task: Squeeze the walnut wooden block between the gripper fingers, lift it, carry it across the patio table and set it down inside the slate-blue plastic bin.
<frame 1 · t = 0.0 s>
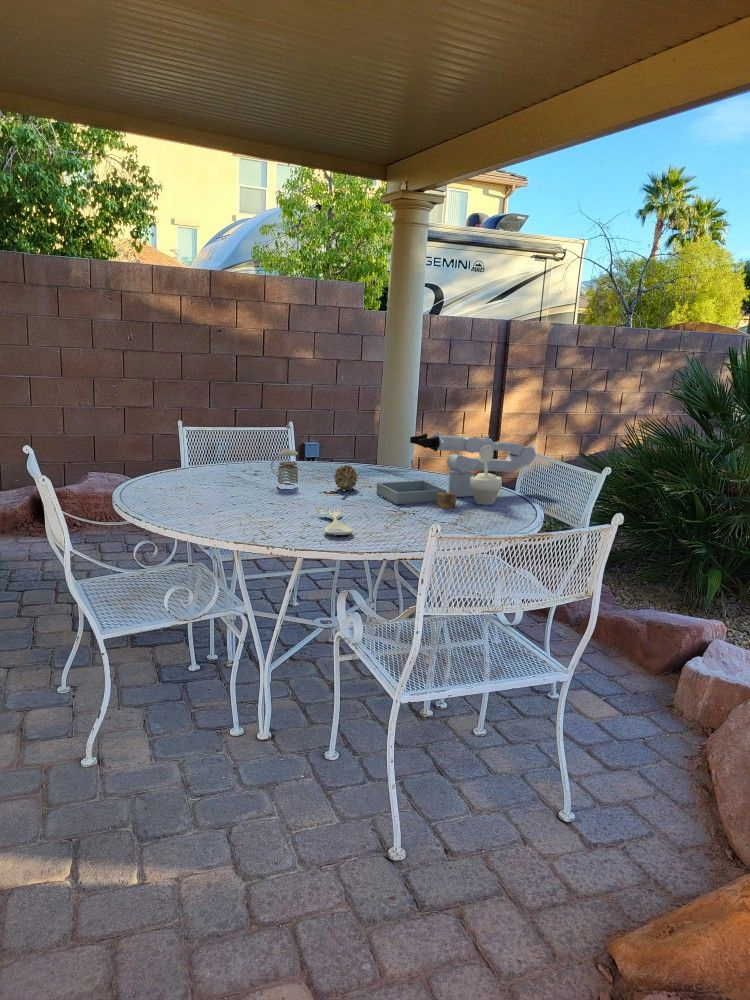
hand: (414, 441, 273), 22 cm above the table, tool horizontal, fingers open, 7 cm apart
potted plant: (484, 503, 271), on the table
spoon: (334, 527, 233), on the table
slate bin: (410, 498, 277), on the table
french press: (286, 487, 293), on the table
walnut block: (446, 507, 263), on the table
pine cone: (345, 492, 286), on the table
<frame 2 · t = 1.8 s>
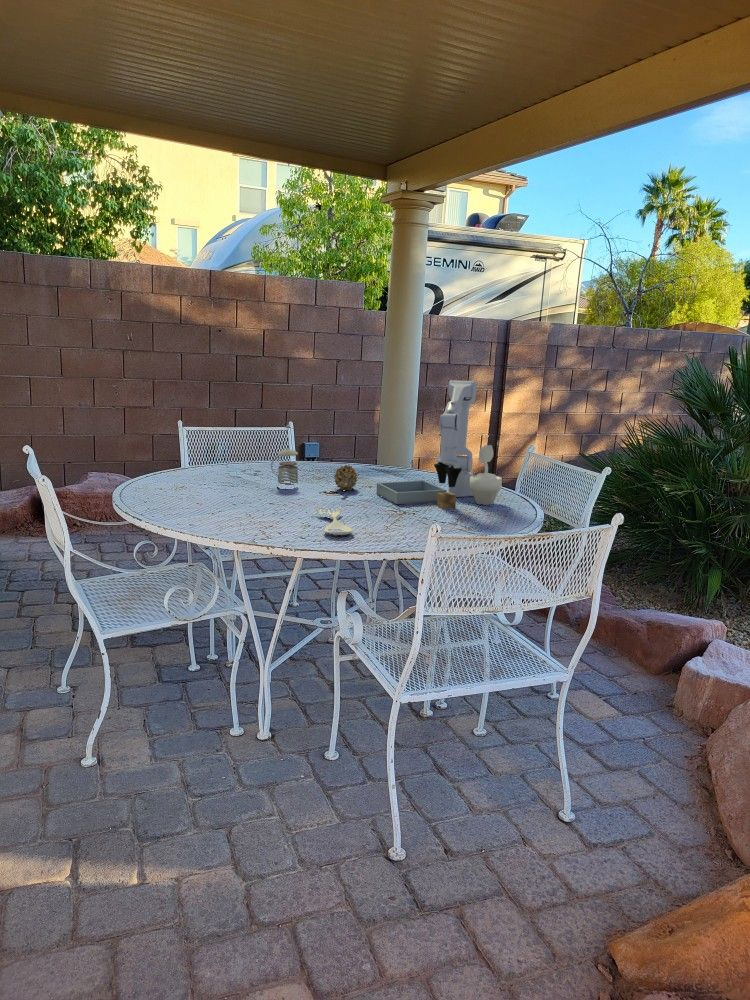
hand: (446, 485, 261), 8 cm above the table, tool pointing down, fingers open, 7 cm apart
nothing on the table moved.
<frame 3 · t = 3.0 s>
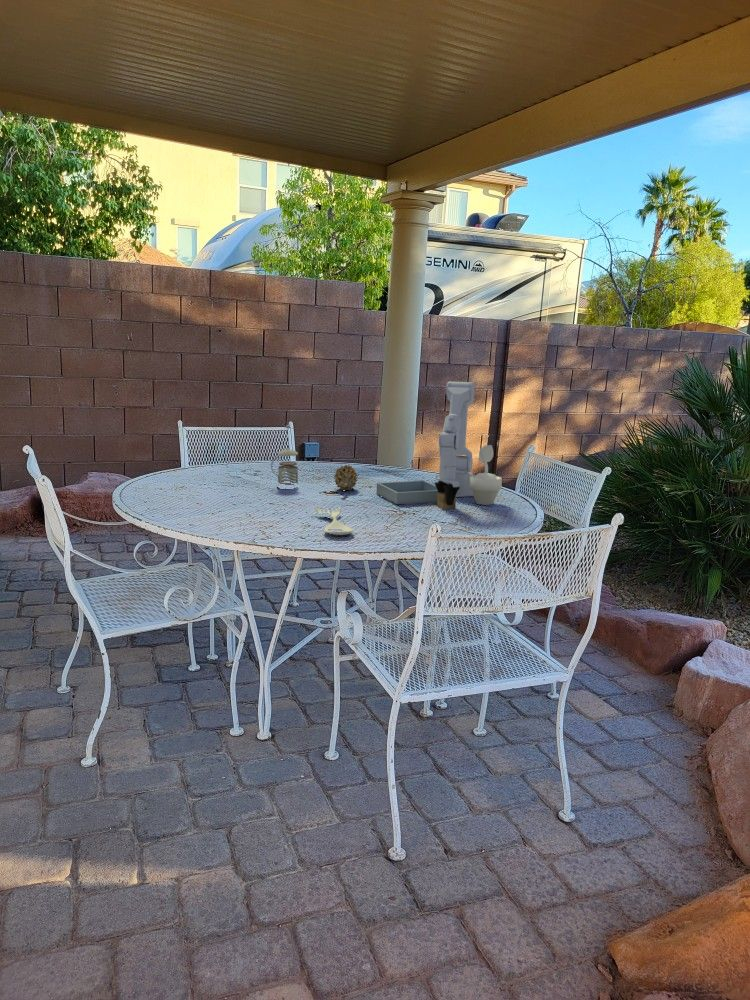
hand: (446, 503, 263), 1 cm above the table, tool pointing down, fingers closed on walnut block, 5 cm apart
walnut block: (446, 507, 263), on the table, touching gripper
everything else where it was.
when the fingers open (5 cm above the table, at t = 6.8 s): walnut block drops 3 cm, resting on slate bin.
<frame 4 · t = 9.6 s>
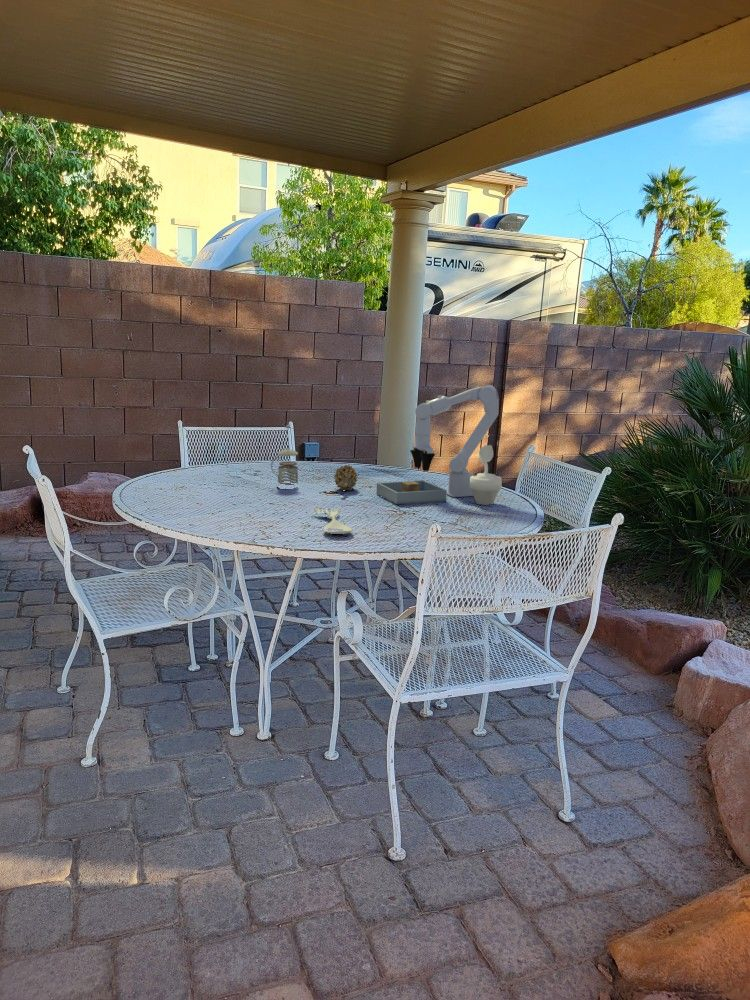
hand: (421, 469, 285), 9 cm above the table, tool pointing down, fingers open, 7 cm apart
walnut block: (410, 495, 277), point 1 cm above the table, touching slate bin
everything else where it was.
at the end: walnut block inside the target area on the slate bin (0.1 cm from its centre), point 0.8 cm above the slate bin's base; the gripper is holding nothing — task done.
